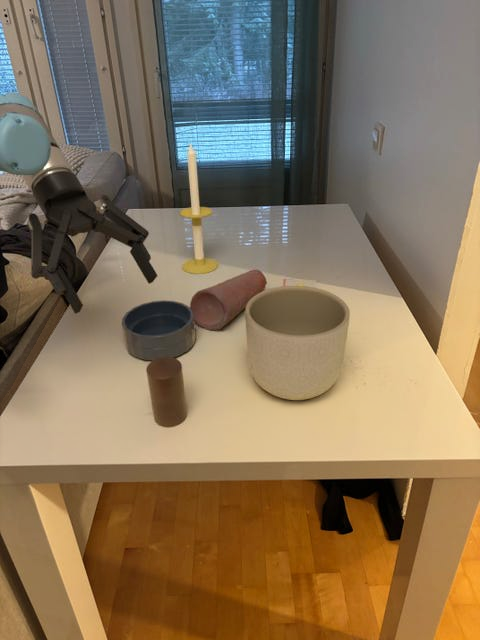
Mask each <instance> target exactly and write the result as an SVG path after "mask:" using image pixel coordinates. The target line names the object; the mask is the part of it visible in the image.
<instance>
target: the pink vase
mask: <svg viewBox="0 0 480 640" xmlns="http://www.w3.org/2000/svg"><path fill="white" fill-rule="evenodd" d="M267 284H268V282H267V278H266V276H265V275H264V273H263V272H262V271H261V270H259V269H252V270H248V271H246V272H243V273H241V274H238V275H236V276H233V277H231V278H229V279H227V280H224V281H223V282H220V283H217V284H215V285H212V286H209V287H206V288H203V289H201V290H197V292H196V293H195V294H193V296H192V297H191V300H190V303H189V307H190V309H191V310H192V311H193V315H194V323H197V325H198V326H199V327H201V328H204V329H207V330H209V331H217V330H220V329H222V328H224V327H225V326H226V325H227V324H228V323H229V322H230V321H232V320H233V319H234V318H235V317H236V316H238V315H239V314H240V313H241V312H243V310H244V309H246V305H247V303H248V302H249V300H250V299H251V298H252V297H254V296H255V295H257V294H258V293H260V292H263V291H265V290H266V289H265V288H266V285H267Z"/></svg>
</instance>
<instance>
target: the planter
mask: <svg viewBox="0 0 480 640" xmlns="http://www.w3.org/2000/svg"><path fill="white" fill-rule="evenodd" d="M244 309H245V311H244V316H245V317H244V318H245V319H244V320H245V336H246V351H247V361H248V365H249V366H248V367H249V370H250V373H251V375H252V377H253V379H254V381H255V382H256V383H257V384H258V386H259V387H260V388H262V389H263V390H264V391H266V392H267V393H269V394H270V395H272V396H275V397H277V398H281V399H284V400H288V401H289V400H290V401H304V400H308V399H312V398H315V397H318V396H320V395H322V394H324V393H325V392H327V391H328V390H329V389H331V387H332V386H333V385H334V384H335V383H336V381H337V380H338V378H339V375H340V372H341V370H342V366H343V362H344V357H345V351H346V344H347V338H348V332H349V326H350V318H351V317H350V315H351V313H350V312H351V311H350V308H349V306H348V305H347V303H346V302H345V301H344V300H343V299H342V298H341V297H339V296H338V295H336V294H334V293H332V292H330V291H327V290H325V289H321V288H318V287H316V288H313V287H307V286H283V285H282V286H276V287H272V288H268V289H264V291H262V292H260V293H258V294H257V295H255V296H254V297H252V298H251V299H250V300H249V302H248V303H247V305H246V307H245V308H244Z"/></svg>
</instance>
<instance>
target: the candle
mask: <svg viewBox="0 0 480 640" xmlns="http://www.w3.org/2000/svg"><path fill="white" fill-rule="evenodd" d="M186 157H187V168H188V169H187V171H188V182H189V194H190V203H191V204H190V206H191V207H185V208H182V209H181V210H180V211H179V216H180V217H182V218H185V219H191V227H192V236H193V237H192V238H193V239H192V240H193V249H194V250H193V252H194V258H191V259H188V260H186V261H184V262H183V263H182V264H181V269H182V271H184V272H185V273H188V274H193V275H202V274H204V275H205V274H208V273H212V272H214V271H215V270H217V268H218V267H219V264H218V262H217V261H216V260H215V259H212V258H208V257H205V253H204V252H205V251H204V239H203V238H204V237H203V225H202V218H206V217H210V216H211V215H212V214H213V209H212V208H210V207H207V206H200V194H199V193H200V192H199V179H198V167H197V153H196V151H195V150H194V148H193V145H192V142H191V141H190V144H189V148H188V151H187V153H186Z"/></svg>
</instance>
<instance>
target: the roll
mask: <svg viewBox="0 0 480 640" xmlns="http://www.w3.org/2000/svg"><path fill="white" fill-rule="evenodd" d="M145 371H146V377H147V384H148V390H149V396H150V402H151V408H152V414H153V420H154V422H155V423H156V424H157V425H158V426H160V427H162V428H173V427H177V426H179V425H180V424H182V423H184V422H185V420H186V419H187V416H188V408H187V400H186V391H185V381H184V372H183V364H182V363H181V361H180V360H179V359H177V358H176V357H173V358H171V357H163V358H158V359H155V360H151V361H150V362H149V363H148V364H147V366H146V369H145Z"/></svg>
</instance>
